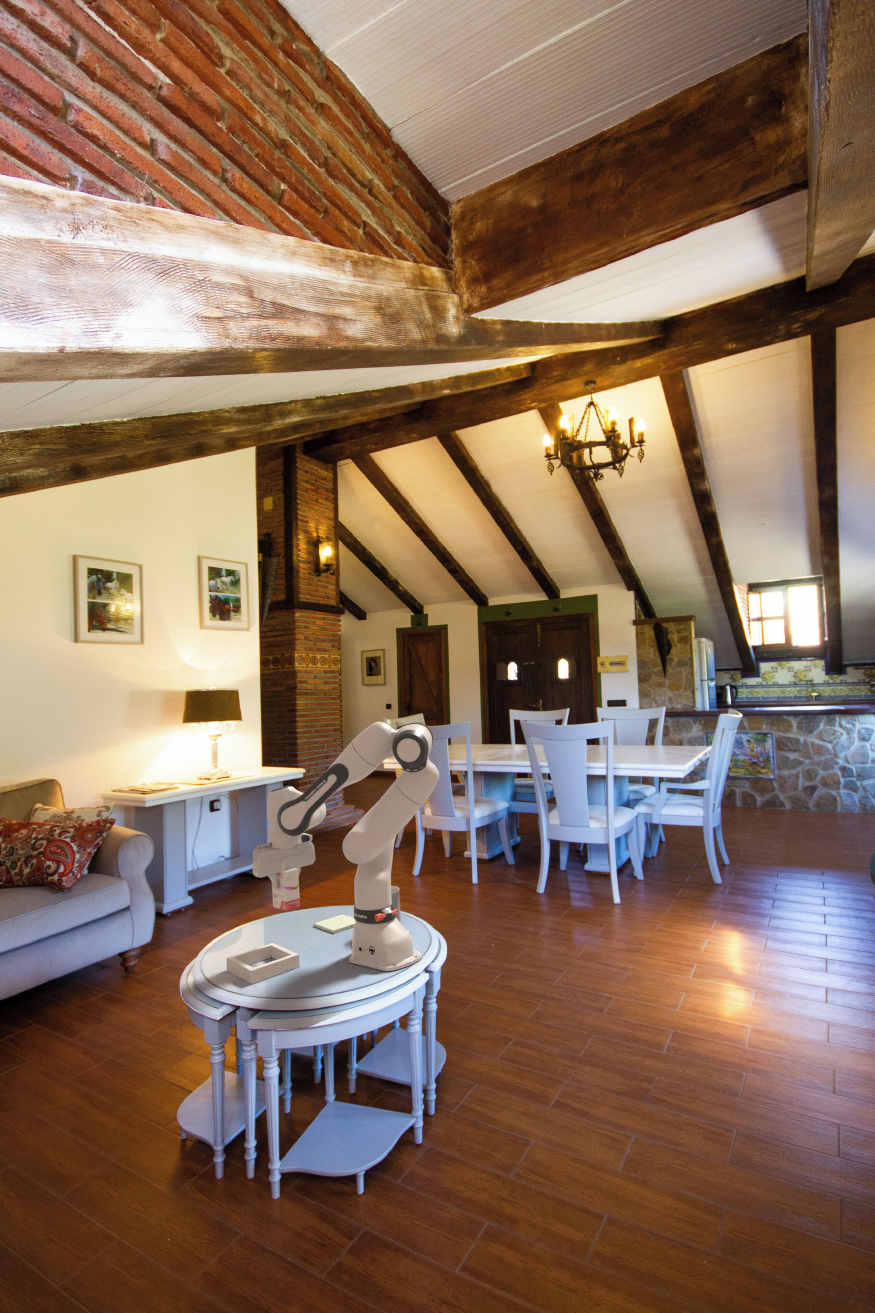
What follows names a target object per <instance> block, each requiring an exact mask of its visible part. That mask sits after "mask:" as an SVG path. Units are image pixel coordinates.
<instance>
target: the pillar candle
mask: <svg viewBox="0 0 875 1313" xmlns="http://www.w3.org/2000/svg"><path fill="white" fill-rule="evenodd" d="M400 895H401V894H400V887H399V886H395V885H391V899H392V903H393V905H394V908H395V910H396V909H398V910H397V911H395V912H398V913H396V918H397V919H398V921H399V922H400V923H401V924H402V921H401V899H400V898H401V896H400Z"/></svg>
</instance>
